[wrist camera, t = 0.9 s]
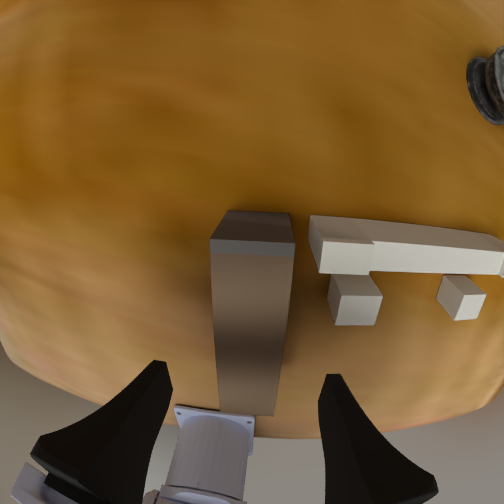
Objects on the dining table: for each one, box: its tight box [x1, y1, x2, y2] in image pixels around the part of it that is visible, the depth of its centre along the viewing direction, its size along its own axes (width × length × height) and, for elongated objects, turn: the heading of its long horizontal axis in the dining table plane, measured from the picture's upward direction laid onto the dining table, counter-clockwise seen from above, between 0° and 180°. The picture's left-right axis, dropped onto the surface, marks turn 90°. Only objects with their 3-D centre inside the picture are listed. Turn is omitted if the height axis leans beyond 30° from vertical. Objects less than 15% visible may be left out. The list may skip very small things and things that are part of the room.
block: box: [210, 211, 295, 416], centre depth 16 cm, size 12×4×5 cm, turn 178°
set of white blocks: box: [308, 215, 504, 325], centre depth 14 cm, size 6×15×4 cm, turn 88°
